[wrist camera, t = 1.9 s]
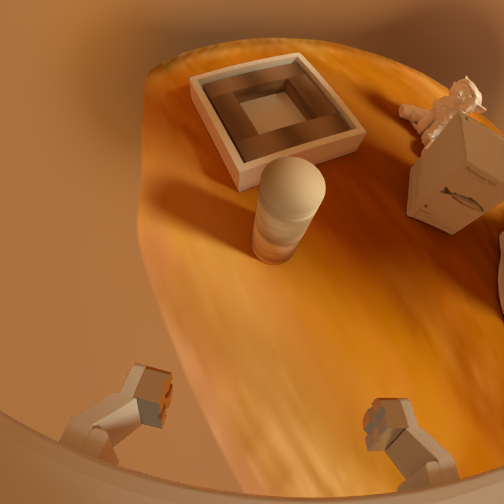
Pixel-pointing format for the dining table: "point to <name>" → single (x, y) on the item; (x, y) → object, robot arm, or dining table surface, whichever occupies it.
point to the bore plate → (264, 84)
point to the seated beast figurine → (443, 110)
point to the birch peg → (285, 207)
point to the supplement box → (457, 175)
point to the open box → (273, 120)
